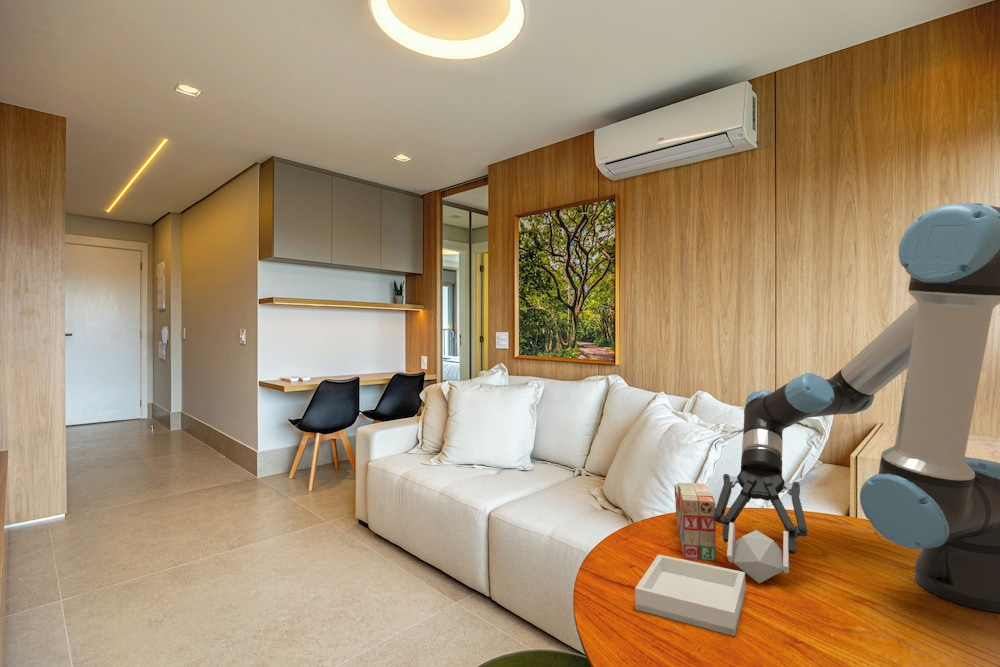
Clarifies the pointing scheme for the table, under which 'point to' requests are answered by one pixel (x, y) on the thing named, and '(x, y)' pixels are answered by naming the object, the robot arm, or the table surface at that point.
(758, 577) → the die
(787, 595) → the table surface
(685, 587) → the tray
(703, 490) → the stack of blocks
